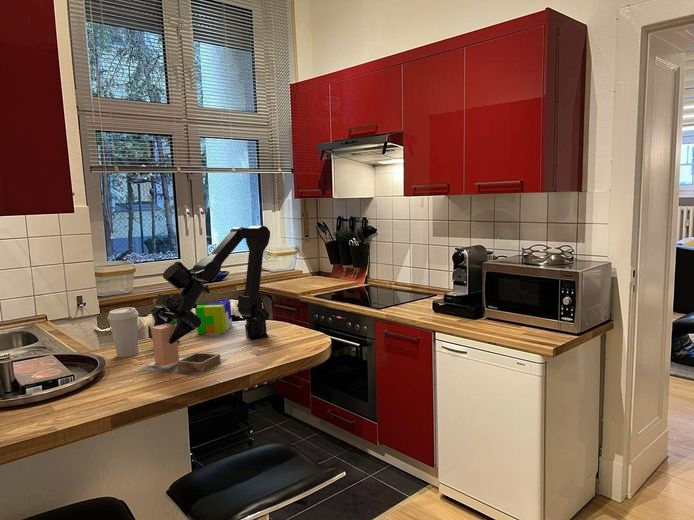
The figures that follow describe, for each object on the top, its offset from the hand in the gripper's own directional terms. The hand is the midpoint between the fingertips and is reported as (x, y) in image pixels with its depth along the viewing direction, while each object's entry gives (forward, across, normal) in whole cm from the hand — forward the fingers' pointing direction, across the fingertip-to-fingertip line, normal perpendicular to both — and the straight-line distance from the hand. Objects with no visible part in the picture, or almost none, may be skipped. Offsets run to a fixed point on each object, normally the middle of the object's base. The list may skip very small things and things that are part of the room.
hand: (160, 341), depth 152 cm
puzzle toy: (-19, -21, +32) cm, 43 cm away
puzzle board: (+4, +6, +8) cm, 11 cm away
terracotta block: (+4, 0, +6) cm, 7 cm away
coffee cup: (+5, -24, +8) cm, 25 cm away
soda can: (-6, -23, +18) cm, 30 cm away
